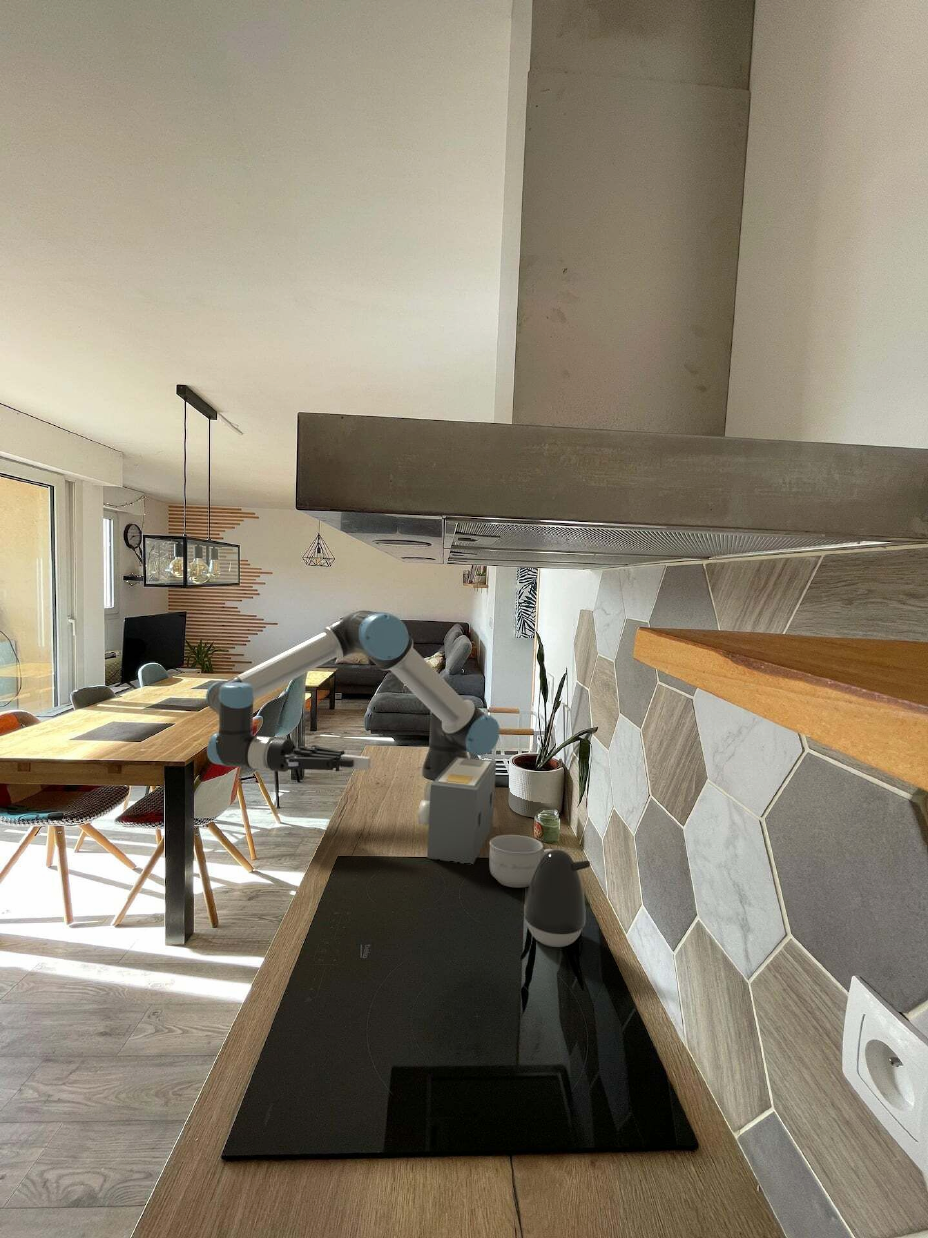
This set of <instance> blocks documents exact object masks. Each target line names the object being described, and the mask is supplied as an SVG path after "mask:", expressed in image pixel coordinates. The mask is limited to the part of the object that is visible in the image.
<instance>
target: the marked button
mask: <svg viewBox="0 0 928 1238" xmlns="http://www.w3.org/2000/svg"><path fill="white" fill-rule="evenodd" d="M429 812H430V801H425V800H424V799H422V800H421V801H420V803H419V807H418V812H417V821H418V824H421V825H426V826H427V825H428V826H429Z"/></svg>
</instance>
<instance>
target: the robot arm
mask: <svg viewBox="0 0 928 1238" xmlns="http://www.w3.org/2000/svg"><path fill="white" fill-rule="evenodd" d="M359 653H360V654H363V655H365V656H367V657H368V658H369V659H370V660H371V662H372V663H374V664H375V665H376V666H377V667H378V668H379V669H380V670H382V671H390V672H391V673H392V674H394V676H395V677H396V678H397V679H398V680H399V681H400V682H401V683H403V685H404V686H405V687H406V688H407V689H409V691H410V692H412V694H414V696H416V698H418V700H420V701H421V702H422V703H423V705H425V706H426V708H427V709H429V711H430V713H429V715H430V719H429V720H430V721H429V742H428V751H427V753H426V756H425V758H424V761H423V764H422V767H421V768H422V769H421V775H422V776H423V777H425V778H427V779H429V780H432V781H435V780H436V778H437V777H438V776H439V775H440V774H441V773H442V772H443V771H444V770H445V769H446V768H447V767H448V766H449V764H450V763H451V762H452V761H453V760H454V759H455V758H456V757H462V758H469V755H468V754H471V755H474V756H484V755H487V754H489V753H490V752H492V750H493V749H495V747H496V746H497V744H498V741H499V739H500V732H501V731H500V725H499V723H498V721H497V719H495V718H494V717H493V716H491V715H489V714H485V712H483V711H482V710H481V709H480V708H479V707H478V706H477V705H476V704H475V703H474V702H473V700H470V699H463V698H462V697H461V696H460V695H459V694H458V693H457V692H456V691H455V690H454V689H453V688H452V687H451V686H450V685H449V683H448V682H446V680H445V679H444V678H443V677H442V676H441V675H440V674H439V673H438V672H437V671H436V669H434V668H433V667H432V666H431V665H430V664H429V663H428V661H426V660H425V658H424V657H422V655H421V654H420V653H418V651H417V650H416V649H415V648H414V640H413V638H412V637H411V636H410V635H409V632H408V629H407V627H406V625H405V623H404V622H403V621H402V620H401V619H400V618H399V617H398V616H395V615H394V614H391V613H388V612H385V611H384V612H381V611H380V612H378V611H372V610H358V611H354V612H352V613H350V614H348V615H346V616H344V617H342V618H340V619H339V620H335V621H334V622H332V623H331V624H329V625H327V626H325V627H324V628H323V629H322V632H321V633H319V634H318V635H315V636H313V637H311V638H309V639H307V640H305V641H304V642H302V643H299V644H298V645H296V646H293V647H292V648H290V649H288V650H286V651H284V652H282V653H279V654H278V655H276V656H274V657H272V658H270V659H268V660H265V661H264V662H262V663H260V664H258V665H256V666H254V667H252V668H250V669H248V670H246V671H244V672H242V673H240V674H238V675H236V676H234V677H232V678H230V679H228V680H226V681H225V680H224V681H223V680H222V681H216V682H214V683H213V684H211V685H210V686H209V687H208V689H207V690H206V693H205V698H206V700H205V701H206V703H207V705H208V707H209V709H211V710H212V711H213V712H214V713H216V714H217V715H218V722H219V723H218V724H219V725H218V727H219V728H218V732H215V733H214V734H212V736H210V738H209V739H208V746H206V754H207V758H208V759H209V761H210V762H211V763H213V764H215V765H220V766H225V767H234V768H235V767H236V768H246V769H255V770H259V772H264V771H272V772H273V771H274V772H279V773H280V772H282V773H285V772H288V771H293V770H312V771H313V770H314V771H316V770H318V771H333V770H334V769H335V772H340V769H349V770H358V771H367V772H368V771H369V770H370V769H371V756H363V755H354V754H353V755H352V754H346V753H345V750H338V749H332V748H326V747H323V746H319V745H316V744H312V745H311V747H307V746H303V745H301V746H298V747H296V745H295V743H294V741H293V740H292V739H290V738H283V737H282V738H281V737H274V736H262V735H254V734H253V725H254V722H253V721H254V701H255V700H257V699H258V698H261V697H262V696H265V695H266V694H268V693H270V692H272V691H274V690H277V689H278V688H280V687H281V686H283V685H286V684H287V683H289V682H291V681H293V680H295V679H297V678H299V677H301V676H303V675H304V674H306V673H308V672H310V671H312V670H314V669H316V668H318V667H320V666H322V665H324V664H326V663H327V662H330V661H331V660H333V659H335V658H337V659H343V658H346V657H347V656H349V655H352V654H353V655H354V654H359Z"/></svg>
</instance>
